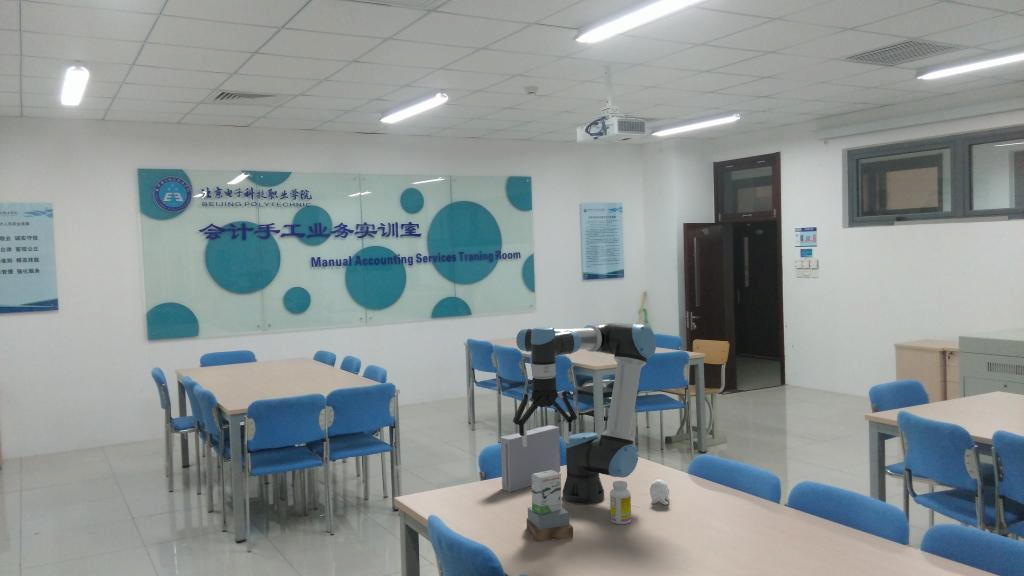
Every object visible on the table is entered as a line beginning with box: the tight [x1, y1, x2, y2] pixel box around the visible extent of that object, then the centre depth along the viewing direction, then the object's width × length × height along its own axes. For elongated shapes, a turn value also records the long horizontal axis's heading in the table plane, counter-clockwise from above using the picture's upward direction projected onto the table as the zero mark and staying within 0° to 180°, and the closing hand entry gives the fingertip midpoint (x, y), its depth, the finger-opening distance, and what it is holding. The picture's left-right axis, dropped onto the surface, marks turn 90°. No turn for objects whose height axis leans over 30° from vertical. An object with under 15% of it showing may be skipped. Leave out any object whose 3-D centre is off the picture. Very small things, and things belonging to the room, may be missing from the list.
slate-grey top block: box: [527, 506, 570, 530], centre depth 241 cm, size 10×10×4 cm
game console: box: [500, 424, 561, 493], centre depth 294 cm, size 6×27×20 cm, turn 133°
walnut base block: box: [526, 517, 574, 542], centre depth 241 cm, size 12×12×4 cm
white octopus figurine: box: [649, 478, 671, 506], centre depth 269 cm, size 6×8×12 cm
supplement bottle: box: [609, 480, 632, 525], centre depth 249 cm, size 7×7×13 cm
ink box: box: [531, 470, 562, 515], centre depth 240 cm, size 9×5×12 cm, turn 125°
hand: (545, 444), depth 239 cm, fingers open, 13 cm apart
